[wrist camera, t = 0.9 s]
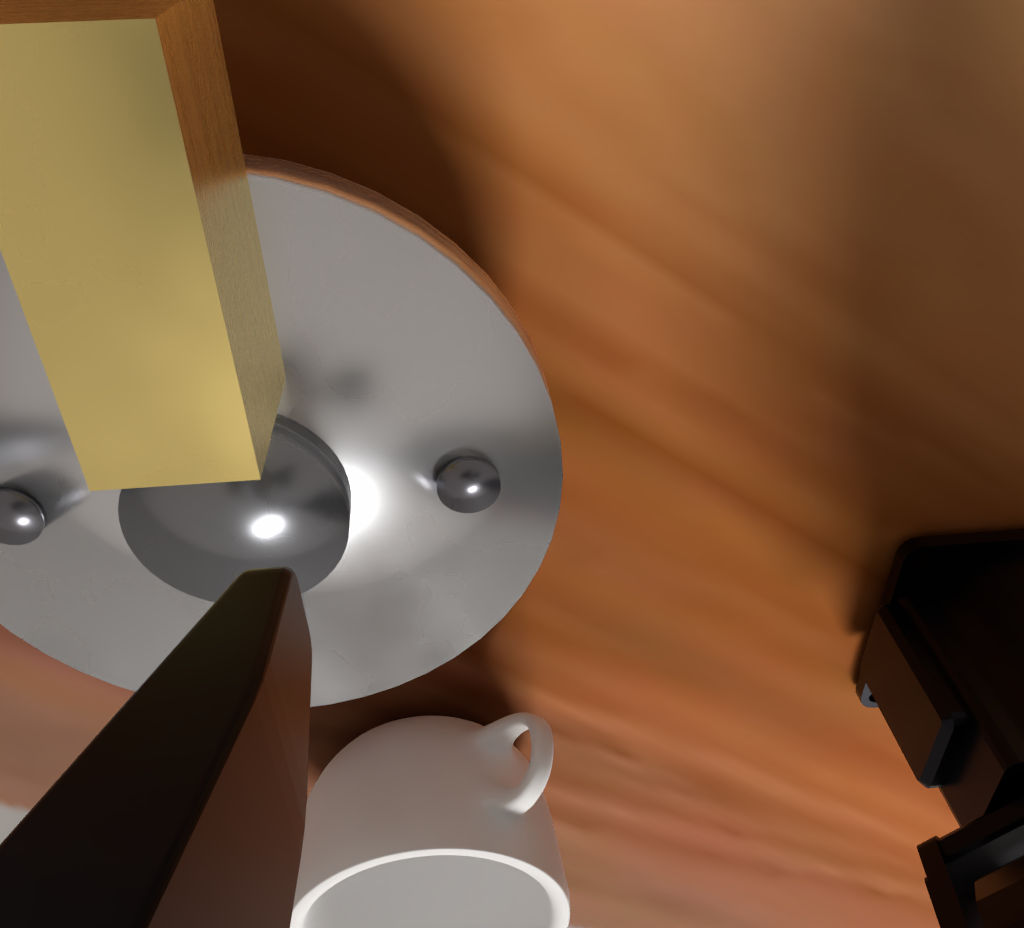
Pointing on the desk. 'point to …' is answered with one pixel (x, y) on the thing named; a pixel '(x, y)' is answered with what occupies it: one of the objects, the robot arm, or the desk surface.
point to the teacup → (434, 830)
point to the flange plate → (382, 409)
